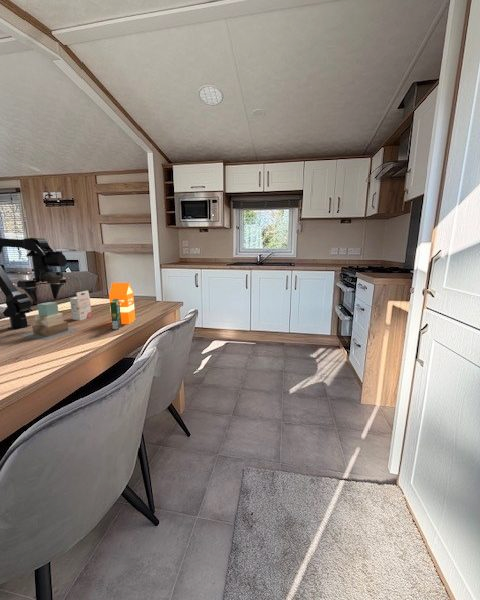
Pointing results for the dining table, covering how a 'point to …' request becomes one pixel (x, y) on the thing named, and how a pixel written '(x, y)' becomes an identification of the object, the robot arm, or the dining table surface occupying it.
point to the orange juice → (123, 301)
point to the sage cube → (47, 309)
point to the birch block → (49, 320)
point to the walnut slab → (50, 329)
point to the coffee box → (115, 314)
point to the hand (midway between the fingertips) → (45, 300)
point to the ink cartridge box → (81, 306)
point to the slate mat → (49, 336)
